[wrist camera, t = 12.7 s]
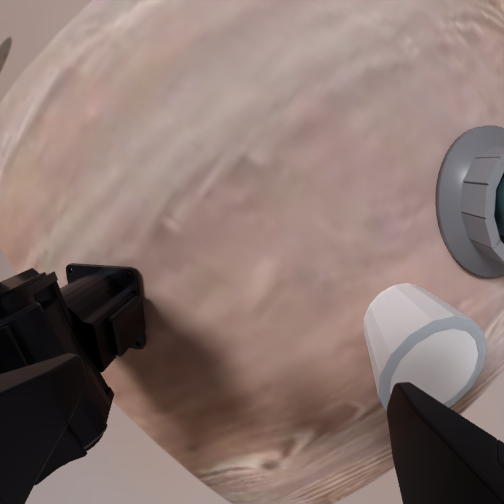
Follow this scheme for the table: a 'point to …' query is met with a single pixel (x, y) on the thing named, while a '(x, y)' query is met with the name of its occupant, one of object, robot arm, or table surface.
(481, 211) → the ring mount
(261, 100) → the table surface
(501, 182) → the teal capped cylinder
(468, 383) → the shot glass
